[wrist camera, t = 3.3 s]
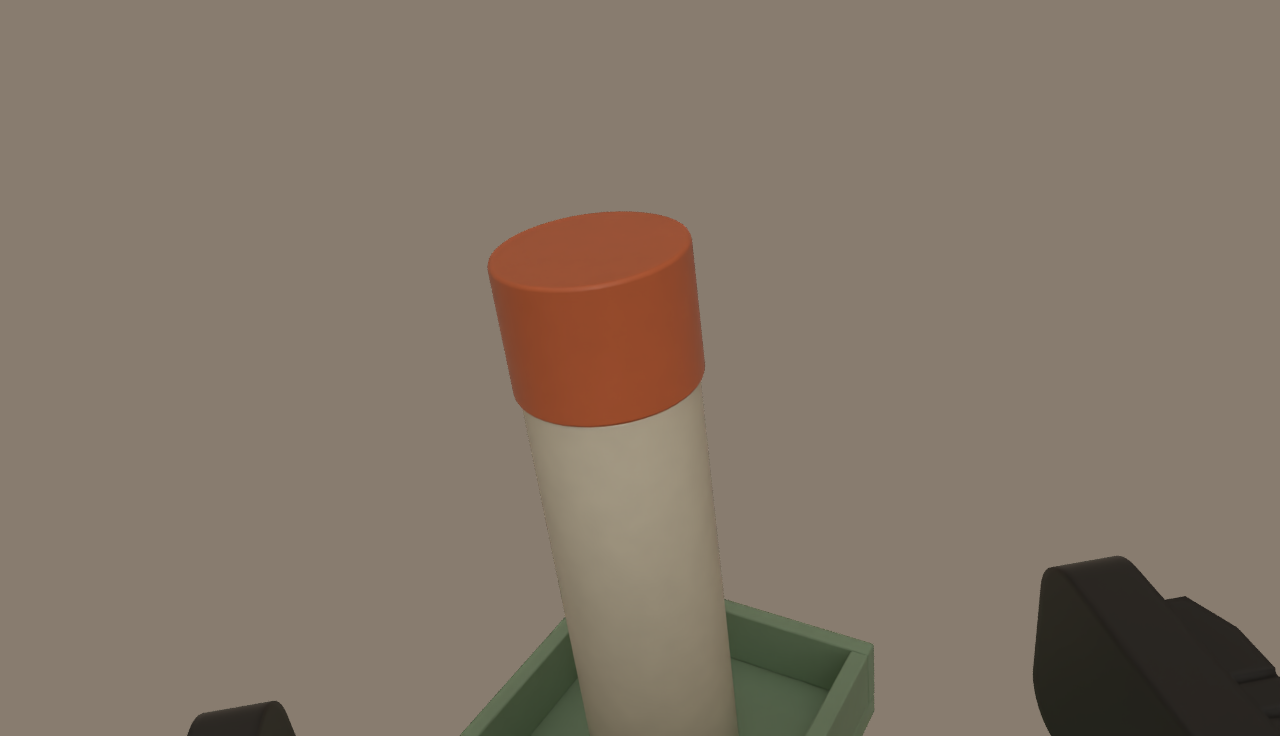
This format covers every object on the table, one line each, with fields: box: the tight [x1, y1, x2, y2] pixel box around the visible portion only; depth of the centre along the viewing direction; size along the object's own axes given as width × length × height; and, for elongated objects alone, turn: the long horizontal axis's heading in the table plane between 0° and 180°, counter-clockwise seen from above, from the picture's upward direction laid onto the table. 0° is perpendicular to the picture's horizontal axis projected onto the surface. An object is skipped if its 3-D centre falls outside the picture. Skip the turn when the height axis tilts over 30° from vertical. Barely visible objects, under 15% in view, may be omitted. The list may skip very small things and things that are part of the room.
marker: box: [488, 211, 739, 736], centre depth 19 cm, size 3×3×12 cm
